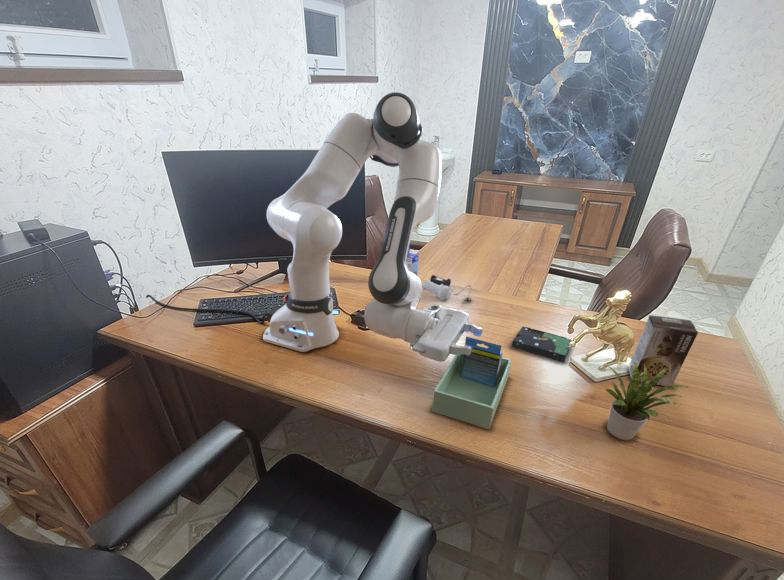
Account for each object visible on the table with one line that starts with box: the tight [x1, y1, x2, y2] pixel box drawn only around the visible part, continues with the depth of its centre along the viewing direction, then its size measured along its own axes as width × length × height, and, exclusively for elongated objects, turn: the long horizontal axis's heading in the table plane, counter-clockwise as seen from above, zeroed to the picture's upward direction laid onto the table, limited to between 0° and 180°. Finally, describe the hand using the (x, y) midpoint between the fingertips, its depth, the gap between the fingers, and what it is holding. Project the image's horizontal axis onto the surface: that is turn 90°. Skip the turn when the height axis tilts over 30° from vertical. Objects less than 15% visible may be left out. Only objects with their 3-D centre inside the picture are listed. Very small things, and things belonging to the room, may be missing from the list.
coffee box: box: [627, 314, 699, 387], centre depth 97 cm, size 9×6×16 cm
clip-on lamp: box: [422, 274, 472, 302], centre depth 140 cm, size 12×6×18 cm
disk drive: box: [510, 325, 573, 364], centre depth 112 cm, size 10×3×15 cm
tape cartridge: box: [461, 336, 504, 387], centre depth 96 cm, size 9×4×12 cm, turn 62°
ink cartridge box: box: [406, 246, 419, 276], centre depth 146 cm, size 10×6×14 cm, turn 59°
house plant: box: [603, 362, 689, 441], centre depth 79 cm, size 14×14×16 cm
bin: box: [431, 354, 512, 430], centre depth 93 cm, size 20×13×6 cm, turn 154°
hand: (476, 341), depth 94 cm, fingers open, 8 cm apart
